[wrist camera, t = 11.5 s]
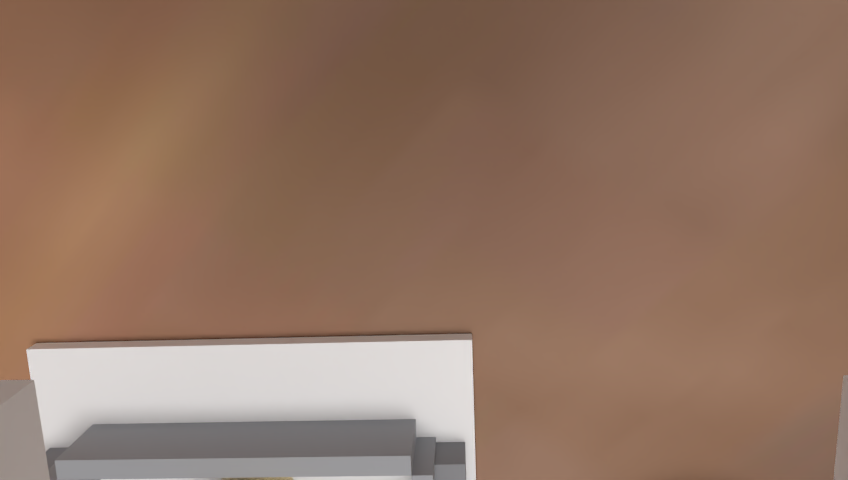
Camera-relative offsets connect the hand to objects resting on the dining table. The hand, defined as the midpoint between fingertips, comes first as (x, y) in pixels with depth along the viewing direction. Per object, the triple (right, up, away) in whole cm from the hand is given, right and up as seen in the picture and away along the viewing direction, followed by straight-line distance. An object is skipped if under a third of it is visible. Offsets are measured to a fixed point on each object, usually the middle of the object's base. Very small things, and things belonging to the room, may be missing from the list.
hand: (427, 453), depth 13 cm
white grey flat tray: (-9, -9, +30) cm, 33 cm away
